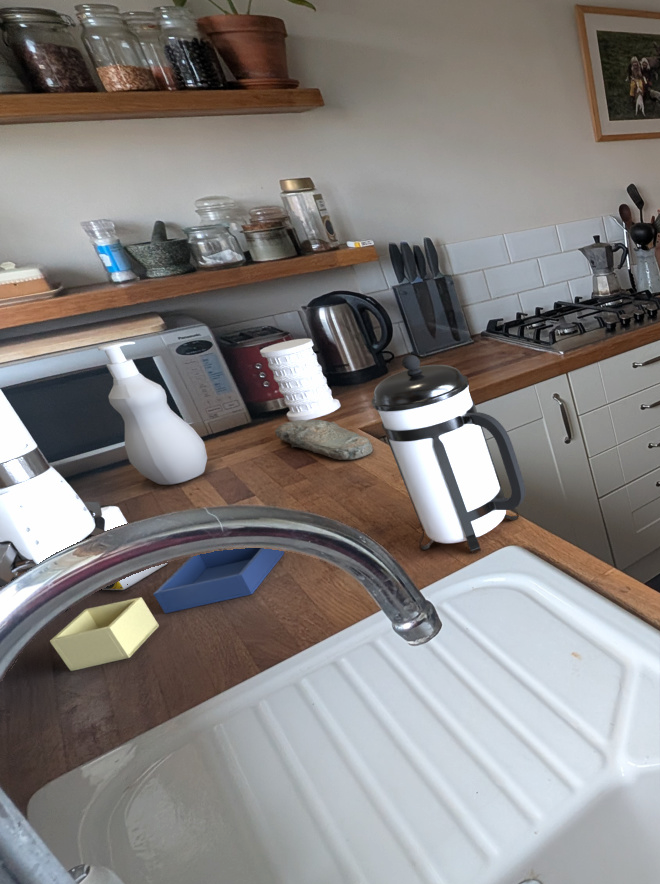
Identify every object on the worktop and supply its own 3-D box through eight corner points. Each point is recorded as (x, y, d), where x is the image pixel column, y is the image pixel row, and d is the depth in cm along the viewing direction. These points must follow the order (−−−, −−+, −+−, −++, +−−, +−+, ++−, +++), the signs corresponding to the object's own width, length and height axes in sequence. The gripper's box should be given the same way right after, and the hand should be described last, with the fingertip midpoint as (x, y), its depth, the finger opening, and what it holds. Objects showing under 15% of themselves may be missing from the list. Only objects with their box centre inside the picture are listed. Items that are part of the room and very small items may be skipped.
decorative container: (332, 415, 170) (303, 346, 163) (280, 424, 167) (249, 355, 160) (346, 400, 180) (320, 335, 173) (298, 408, 178) (269, 343, 170)
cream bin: (70, 671, 87) (49, 641, 85) (104, 638, 93) (85, 609, 91) (129, 657, 88) (109, 627, 86) (159, 625, 94) (141, 596, 92)
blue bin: (165, 613, 97) (153, 594, 95) (206, 569, 107) (196, 551, 105) (252, 594, 99) (241, 574, 97) (284, 553, 109) (275, 534, 108)
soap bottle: (230, 470, 144) (163, 337, 132) (164, 496, 135) (86, 356, 123) (195, 459, 152) (129, 333, 140) (131, 483, 143) (55, 351, 131)
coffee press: (418, 575, 99) (340, 384, 86) (422, 526, 112) (355, 354, 100) (540, 537, 105) (484, 353, 93) (530, 495, 118) (480, 329, 106)
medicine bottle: (87, 590, 105) (44, 524, 100) (134, 562, 111) (96, 500, 106) (123, 591, 104) (82, 524, 99) (169, 563, 110) (132, 499, 105)
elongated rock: (341, 474, 139) (389, 456, 146) (333, 451, 136) (383, 433, 144) (265, 440, 156) (312, 425, 164) (258, 419, 154) (305, 405, 162)
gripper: (22, 450, 87) (95, 560, 94) (-104, 516, 71) (-6, 641, 78) (89, 438, 88) (156, 546, 95) (-21, 499, 73) (69, 624, 80)
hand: (83, 589), depth 87 cm, fingers open, 9 cm apart
